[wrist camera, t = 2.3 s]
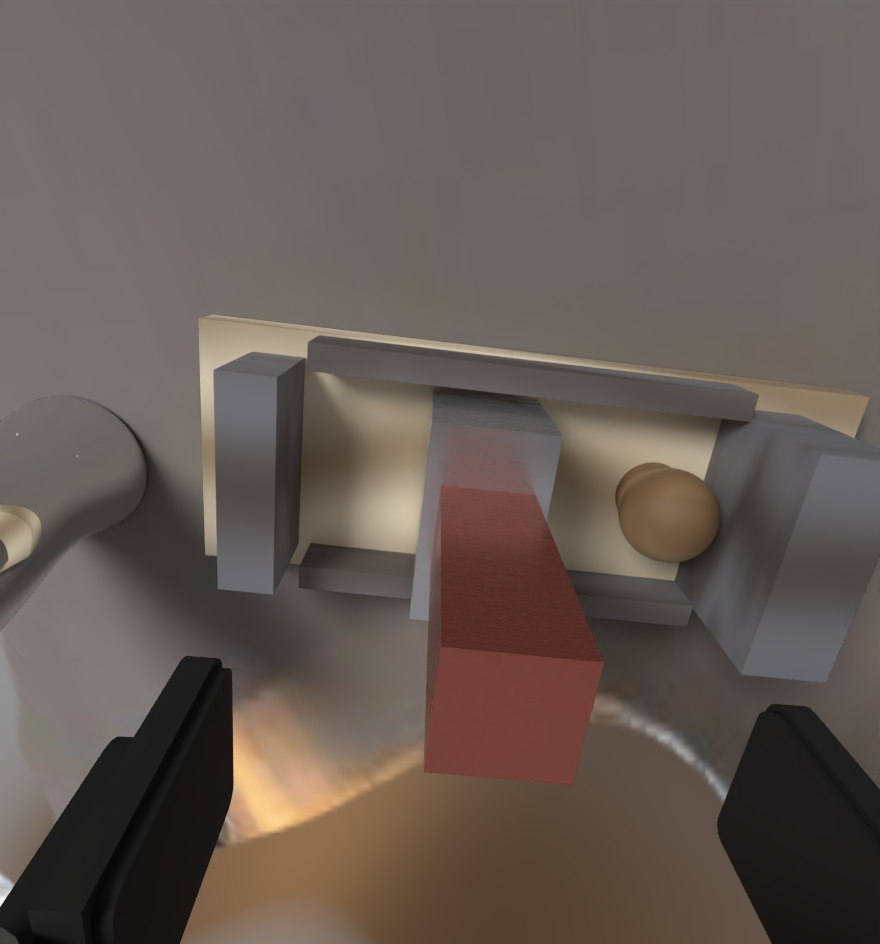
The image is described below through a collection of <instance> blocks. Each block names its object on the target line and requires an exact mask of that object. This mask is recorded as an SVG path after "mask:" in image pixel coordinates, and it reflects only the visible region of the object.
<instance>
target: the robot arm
mask: <svg viewBox="0 0 880 944" xmlns="http://www.w3.org/2000/svg"><path fill="white" fill-rule="evenodd" d="M232 793H233V712H232V671H231V669H229V668H222V663H221V660H220V659H217V658H205V657H193V656H185V657H184V658H183V659H182V660H181V661H180V663H179V665H178V666H177V668H176V669H175V671H174V673H173V674H172V676H171V678H170V679H169V681H168V682H167V684H166V686H165V687H164V689H163V691H162V692H161V694H160V695H159V697H158V699H157V700H156V702H155V704H154V705H153V707H152V708H151V710H150V712H149V713H148V715H147V717H146V718H145V720H144V721H143V723H142V725H141V726H140V728H139V730H138V731H137V733H136V734H135V736H134V737H116V738H115V739H113V740H112V741H111V742H110V743H109V744H108V745H107V747H106V748H105V749H104V751H103V752H102V754H101V755H100V757H99V758H98V760H97V761H96V763H95V764H94V766H93V767H92V769H91V770H90V772H89V773H88V775H87V776H86V778H85V779H84V781H83V782H82V784H81V785H80V787H79V789H78V790H77V792H76V793H75V795H74V796H73V798H72V799H71V801H70V802H69V804H68V805H67V807H66V808H65V810H64V811H63V813H62V814H61V816H60V817H59V819H58V820H57V822H56V823H55V825H54V826H53V828H52V829H51V831H50V832H49V834H48V836H47V837H46V839H45V840H44V842H43V843H42V845H41V846H40V848H39V849H38V851H37V852H36V854H35V855H34V857H33V858H32V860H31V861H30V863H29V864H28V866H27V867H26V869H25V870H24V872H23V873H22V875H21V877H20V878H19V879H18V881H17V882H16V884H15V886H14V887H13V889H12V890H11V892H10V893H9V895H8V896H7V898H6V899H5V901H4V902H3V904H2V905H1V907H0V944H180V941H181V939H182V936H183V933H184V931H185V927H186V925H187V922H188V919H189V917H190V914H191V911H192V908H193V905H194V903H195V900H196V897H197V895H198V892H199V889H200V886H201V884H202V881H203V878H204V875H205V873H206V870H207V867H208V864H209V862H210V859H211V856H212V853H213V851H214V848H215V845H216V842H217V840H218V837H219V834H220V831H221V829H222V826H223V823H224V820H225V818H226V815H227V812H228V809H229V806H230V802H231V798H232ZM717 827H718V834H719V838H720V840H721V843H722V845H723V847H724V849H725V851H726V853H727V854H728V857H729V859H730V861H731V863H732V865H733V867H734V869H735V871H736V873H737V875H738V877H739V879H740V881H741V883H742V885H743V887H744V889H745V891H746V893H747V894H748V897H749V899H750V901H751V903H752V905H753V907H754V909H755V911H756V913H757V915H758V917H759V919H760V921H761V923H762V925H763V927H764V929H765V931H766V933H767V935H768V937H769V939H770V941H771V943H772V944H880V789H879V788H878V787H877V786H876V784H875V783H874V782H873V781H872V780H871V779H870V777H869V776H868V775H867V774H866V773H865V771H864V770H863V769H862V768H861V767H860V766H859V764H858V763H857V762H856V761H855V760H854V759H853V757H852V756H851V755H850V754H849V753H848V751H847V750H846V749H845V748H844V747H843V746H842V744H841V743H840V742H839V741H838V740H837V738H836V737H835V736H834V735H833V734H832V733H831V731H830V730H829V729H828V728H827V727H826V725H825V724H824V723H823V722H822V721H821V720H820V718H819V717H818V716H817V715H816V714H815V713H814V712H813V711H812V710H811V709H810V708H807V707H805V706H793V705H781V704H772V705H770V706H769V707H768V708H767V710H766V711H765V712H762V713H760V714H759V716H758V718H757V720H756V723H755V725H754V728H753V730H752V733H751V735H750V738H749V740H748V743H747V746H746V748H745V751H744V753H743V756H742V758H741V761H740V763H739V766H738V768H737V771H736V773H735V776H734V779H733V781H732V784H731V786H730V789H729V791H728V794H727V796H726V799H725V801H724V804H723V807H722V809H721V812H720V814H719V817H718V823H717Z"/></svg>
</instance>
